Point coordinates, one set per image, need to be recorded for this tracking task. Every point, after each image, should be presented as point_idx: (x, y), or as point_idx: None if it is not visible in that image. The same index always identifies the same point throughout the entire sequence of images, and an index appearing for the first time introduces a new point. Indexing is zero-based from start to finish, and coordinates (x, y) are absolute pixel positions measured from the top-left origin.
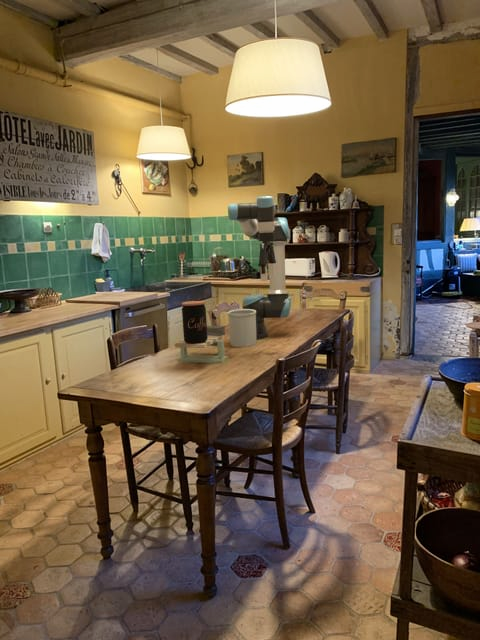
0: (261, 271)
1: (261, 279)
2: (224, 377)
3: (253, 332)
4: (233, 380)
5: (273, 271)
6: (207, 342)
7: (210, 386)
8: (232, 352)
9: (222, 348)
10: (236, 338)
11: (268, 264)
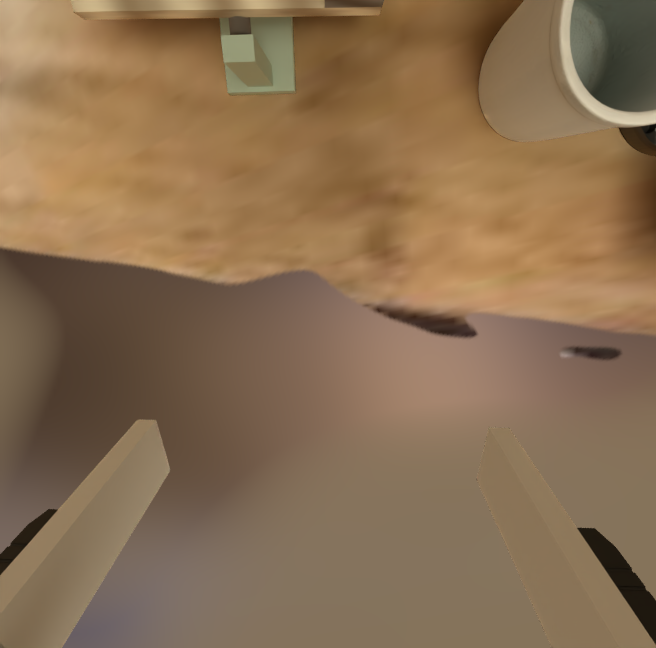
0: (13, 545)
1: (128, 438)
2: (94, 176)
3: (533, 133)
4: (84, 215)
5: (511, 545)
6: (133, 4)
7: (7, 164)
8: (387, 78)
9: (244, 74)
10: (497, 47)
11: (615, 641)
